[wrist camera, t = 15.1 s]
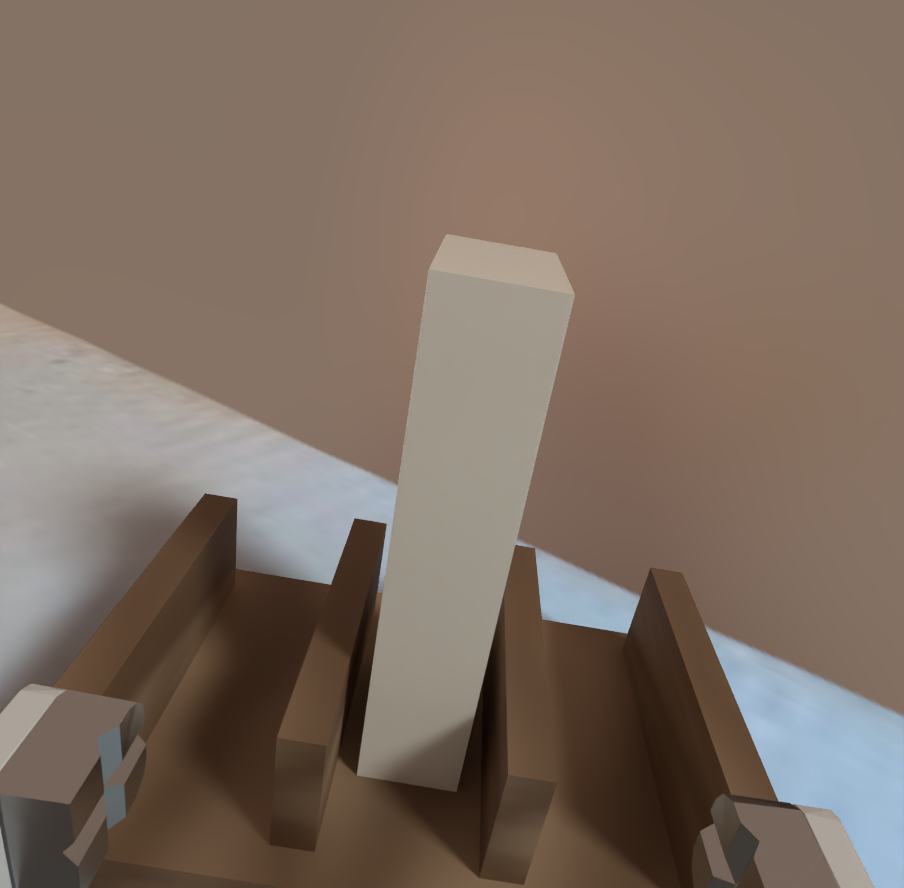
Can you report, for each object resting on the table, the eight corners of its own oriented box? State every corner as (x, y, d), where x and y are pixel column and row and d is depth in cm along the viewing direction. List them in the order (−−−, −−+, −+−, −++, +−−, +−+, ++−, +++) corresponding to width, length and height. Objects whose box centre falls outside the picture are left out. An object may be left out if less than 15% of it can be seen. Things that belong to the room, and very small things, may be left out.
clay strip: (356, 775, 20) (429, 269, 14) (383, 656, 25) (446, 234, 18) (456, 792, 20) (574, 294, 14) (464, 670, 25) (555, 253, 18)
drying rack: (1, 879, 17) (-30, 727, 15) (190, 591, 28) (189, 476, 26) (761, 997, 18) (845, 866, 15) (660, 667, 29) (701, 561, 26)
